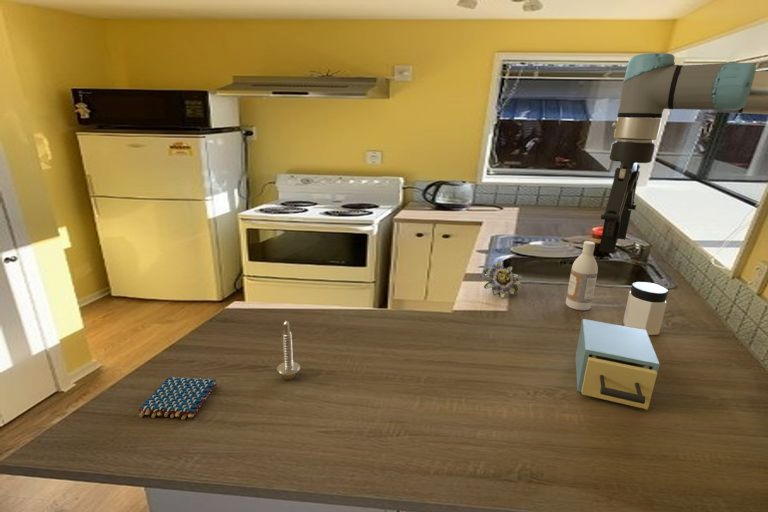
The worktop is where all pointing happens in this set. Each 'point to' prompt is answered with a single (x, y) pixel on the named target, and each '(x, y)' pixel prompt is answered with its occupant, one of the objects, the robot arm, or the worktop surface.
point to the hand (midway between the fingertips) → (612, 244)
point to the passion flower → (501, 280)
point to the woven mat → (178, 397)
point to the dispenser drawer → (619, 381)
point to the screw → (288, 356)
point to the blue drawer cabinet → (613, 346)
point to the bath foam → (582, 279)
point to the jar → (646, 307)
